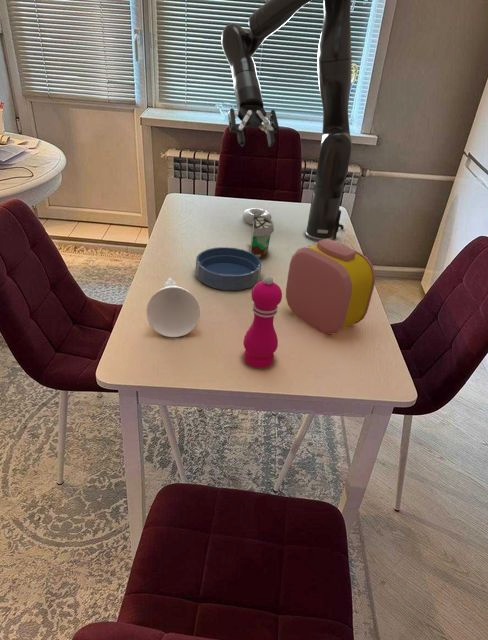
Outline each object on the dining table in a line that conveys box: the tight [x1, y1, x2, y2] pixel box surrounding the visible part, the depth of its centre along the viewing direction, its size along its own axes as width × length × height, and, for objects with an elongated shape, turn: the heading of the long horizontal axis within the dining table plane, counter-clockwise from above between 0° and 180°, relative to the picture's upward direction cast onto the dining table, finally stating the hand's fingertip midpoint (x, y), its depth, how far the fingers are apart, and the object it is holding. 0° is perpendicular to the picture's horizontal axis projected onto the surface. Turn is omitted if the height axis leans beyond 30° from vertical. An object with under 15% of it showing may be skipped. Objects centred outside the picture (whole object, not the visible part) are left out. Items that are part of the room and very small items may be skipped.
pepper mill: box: [243, 275, 283, 369], centre depth 100 cm, size 7×7×20 cm
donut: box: [242, 207, 272, 226], centre depth 169 cm, size 10×4×10 cm
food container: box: [250, 214, 275, 260], centre depth 146 cm, size 12×6×10 cm, turn 179°
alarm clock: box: [285, 239, 376, 335], centre depth 116 cm, size 18×11×19 cm, turn 41°
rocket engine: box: [146, 277, 201, 338], centre depth 115 cm, size 12×12×18 cm
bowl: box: [195, 246, 263, 291], centre depth 134 cm, size 18×18×4 cm
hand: (257, 145), depth 140 cm, fingers open, 8 cm apart
